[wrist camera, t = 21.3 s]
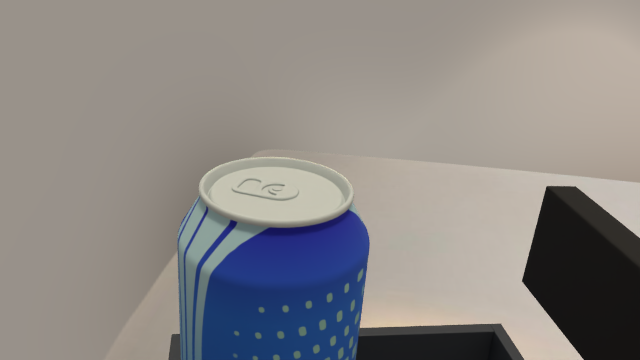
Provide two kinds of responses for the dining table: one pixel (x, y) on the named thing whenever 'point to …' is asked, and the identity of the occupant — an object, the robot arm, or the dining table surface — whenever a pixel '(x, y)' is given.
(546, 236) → the robot arm
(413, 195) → the dining table surface
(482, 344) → the dark grey serving tray
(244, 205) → the beer can
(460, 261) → the dining table surface
